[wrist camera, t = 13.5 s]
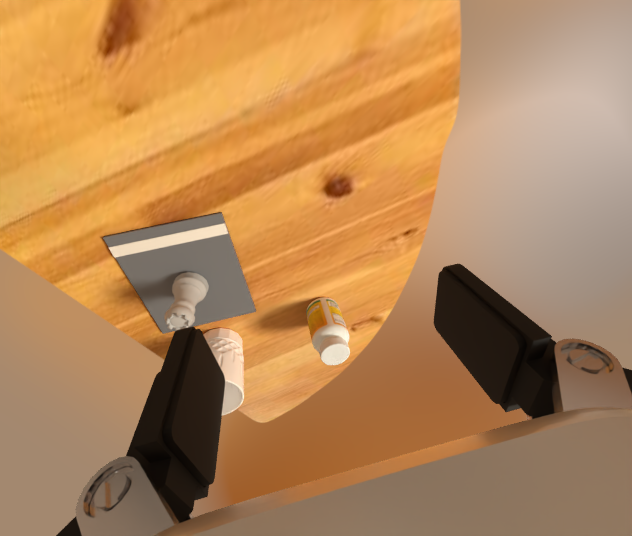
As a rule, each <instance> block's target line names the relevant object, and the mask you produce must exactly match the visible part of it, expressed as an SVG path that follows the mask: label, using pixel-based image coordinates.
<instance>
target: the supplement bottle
mask: <svg viewBox="0 0 632 536" xmlns="http://www.w3.org/2000/svg"><path fill="white" fill-rule="evenodd" d="M306 316H307V321H308V325H309V330H310V334H311V339H312V343H313V346H314V348H315V349H316V350H317V351H318V352H319V354H320V357H321V360H322V361H323V362H324V363H325V364H327V365H337V364H340V363H342V362H344V361H345V360H346V359H347V358H348V356H349V354H350V350H349V347H348V341H349V333H348V330H347V328H346V325H345V322H344V320H343V317H342V314H341V312H340V309H339V307H338V304H337V303H336V302H335V301H334V300H333V299H331V298H327V297H322V298H318V299H316V300H314V301H313V302H311V303H310V304H309V305H308V307H307V310H306Z"/></svg>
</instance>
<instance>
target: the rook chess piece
mask: <svg viewBox="0 0 632 536" xmlns="http://www.w3.org/2000/svg"><path fill="white" fill-rule="evenodd" d="M208 287H209V285H208V283H207V280H206V279H205V278H204V277H203V276H201V275H199V274H197V273H191V272H187V273H182V274H180V275H179V276H177V277H176V278H175V280H174V284H173V285H172V293H173V295H174V297H175V300H174V303H172V305H171V306H170V309H169V310H167V312H166V313H165V315H164V319H165V321H166V324H168V327H167V328H168V329H170V330H171V329H172V328H174V329H176V330H179V329H183V328H188V327H190V326H191V325H192V324H193V323H194V322H195V316H194V314H195V306H196V304H197V303H199V302H200V301H202V300H203V299H204V297H205V296H206V295H207V292H208ZM176 330H175V331H176Z"/></svg>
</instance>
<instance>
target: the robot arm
mask: <svg viewBox="0 0 632 536" xmlns="http://www.w3.org/2000/svg"><path fill="white" fill-rule="evenodd" d="M434 325H435V328H436V330H437V331H438V333H440V335H441V336H442V337H443V339H444V340H445V341H446V343H447V344H448V345H449V346H450V348H451V349H452V350H453V351H454V353H455V354H456V355H457V357H458V358H459V359H460V360H461V362H462V363H463V364H464V366H465V367H466V368H467V369H468V371H469V372H470V373H471V374H472V376H473V377H474V378H475V380H476V381H477V382H478V383H479V385H480V386H481V387H482V388H483V390H484V391H485V392H486V393H487V395H488V396H489V397H490V399H491V400H492V401H493V402H495V403H496V404H500V405H501V407H502V408H503V409H504V410H505V412H508V411H512V410H515V409H519V408H522V410H523V411H524V412H525V413H526V414H527V421H523V422H519V423H516V424H511V425H508V426H504V427H500V428H497V429H493V430H490V431H486V432H483V433H479V434H476V435H472V436H468V437H465V438H461V439H458V440H454V441H451V442H447V443H443V444H440V445H436V446H433V447H429V448H426V449H422V450H419V451H415V452H412V453H409V454H405V455H401V456H398V457H394V458H391V459H387V460H384V461H380V462H377V463H374V464H370V465H366V466H363V467H360V468H356V469H353V470H349V471H346V472H342V473H339V474H335V475H332V476H328V477H325V478H322V479H318V480H315V481H311V482H308V483H305V484H301V485H298V486H294V487H291V488H287V489H284V490H281V491H277V492H274V493H270V494H267V495H263V496H261V497H257V498H253V499H250V500H247V501H244V502H241V503H237V504H234V505H231V506H228V507H225V508H221V509H218V510H215V511H212V512H209V513H206V514H203V515H200V516H198V517H195V518H193V516H192V514H191V512H192V510H193V506H194V500H198V499H201V498H204V497H207V496H208V488H209V485H210V484H212V483H213V482H214V478H215V470H216V461H217V452H218V443H219V434H220V425H221V417H222V408H223V399H224V390H225V377H224V374H223V372H222V370H221V368H220V366H219V364H218V362H217V360H216V358H215V356H214V355H213V353H212V351H211V349H210V347H209V345H208V343H207V341H206V339H205V337H204V335H203V333H202V331H201V330H200V329H195V328H194V327H188V328H183V329H179V330H176V331H175V333H174V336H173V339H172V341H171V344H170V347H169V350H168V352H167V355H166V358H165V361H164V364H163V366H162V369H161V372H159V373H158V374H157V375H156V377H155V380H154V382H153V385H152V387H151V390H150V393H149V396H148V398H147V401H146V404H145V406H144V409H143V412H142V414H141V417H140V420H139V423H138V426H137V428H136V431H135V433H134V436H133V439H132V442H131V444H130V447H129V450H128V452H127V455H126V456H125V457H120V458H117V459H115V460H113V461H111V462H109V463H108V464H106V465H105V466H104V467H103V468H101V469H100V470H99V471H98V472H97V473H96V474H95V475H94V476H93V477H92V478H91V479H90V481H89V482H88V483H87V485H86V486H85V487H84V489H83V491H82V493H81V495H80V497H79V499H78V503H77V506H76V517H75V518H74V519H73V520H72V521H71V522H70V523H69V524H68V525H67V526H66V527H65V528H64V529H63V530H62V531H61V532H60V533H58V535H56V536H632V370H629V369H625V368H622V366H621V364H620V362H619V361H618V359H617V358H616V357H615V356H614V355H612V354H611V353H610V352H609V351H607V350H606V349H604V348H602V347H600V346H598V345H596V344H594V343H591V342H588V341H584V340H580V339H564V340H561V341H558V342H557V343H556V342H555V341H553V340H552V339H551V337H552V336H551V335H549V334H548V333H547V332H546V331H544V330H543V329H542V328H541V327H539V326H538V325H537V324H536V323H534V322H533V321H532V320H531V319H529V318H528V317H527V316H526V315H524V314H523V313H522V312H521V311H519V310H518V309H517V308H516V307H514V306H513V305H512V304H510V303H509V302H508V301H506V300H505V299H504V298H503V297H502V296H500V295H499V294H498V293H497V292H495V291H494V290H493V289H491V288H490V287H489V286H488V285H486V284H485V283H484V282H483V281H481V280H480V279H479V278H478V277H476V276H475V275H474V274H473V273H471V272H470V271H469V270H468V269H466V268H465V267H464V266H462V265H461V264H455V265H450V266H446V267H444V268H443V270H442V271H441V272H440V273H439V278H438V287H437V296H436V305H435V315H434Z"/></svg>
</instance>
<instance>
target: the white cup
mask: <svg viewBox="0 0 632 536" xmlns="http://www.w3.org/2000/svg"><path fill="white" fill-rule="evenodd" d="M203 335H204V337H205V339H206V341H207V343H208V345H209V347H210V349H211V351H212V353H213V355H214V356H215V358H216V360H217V362H218V364H219V366H220V368H221V370H222V372H223V374H224V377H225V390H224V399H223V408H222V415H225V414H228V413H231V412H232V411H234V410H236V409H237V408H238V407H239V406H240V405H241V404H242V402H243V400H244V360H243V350H242V338H241V337H240V336H239V334H238V333H236V332H235V331H233V330H231V329H226V328H217V329H212V330H209V331H208V332H206V333H205V334H203Z"/></svg>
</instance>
